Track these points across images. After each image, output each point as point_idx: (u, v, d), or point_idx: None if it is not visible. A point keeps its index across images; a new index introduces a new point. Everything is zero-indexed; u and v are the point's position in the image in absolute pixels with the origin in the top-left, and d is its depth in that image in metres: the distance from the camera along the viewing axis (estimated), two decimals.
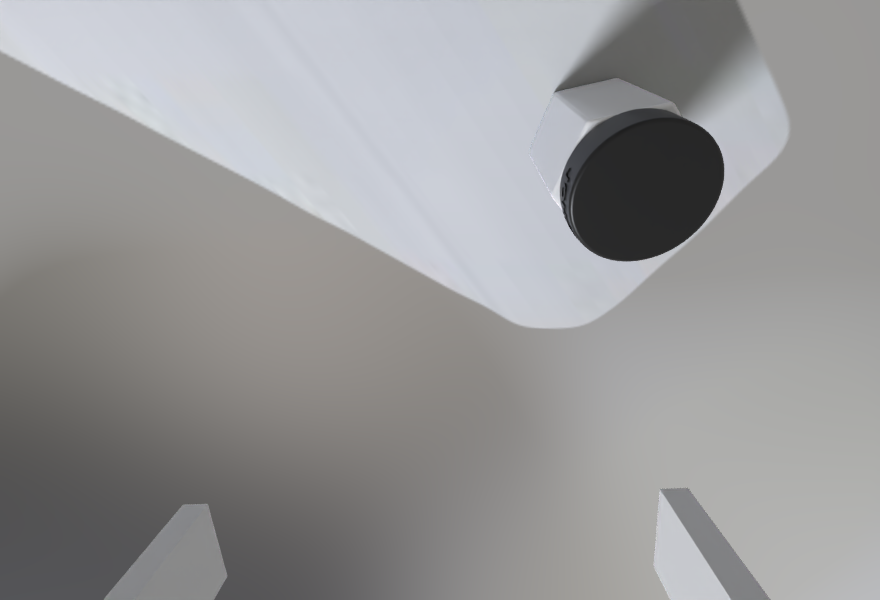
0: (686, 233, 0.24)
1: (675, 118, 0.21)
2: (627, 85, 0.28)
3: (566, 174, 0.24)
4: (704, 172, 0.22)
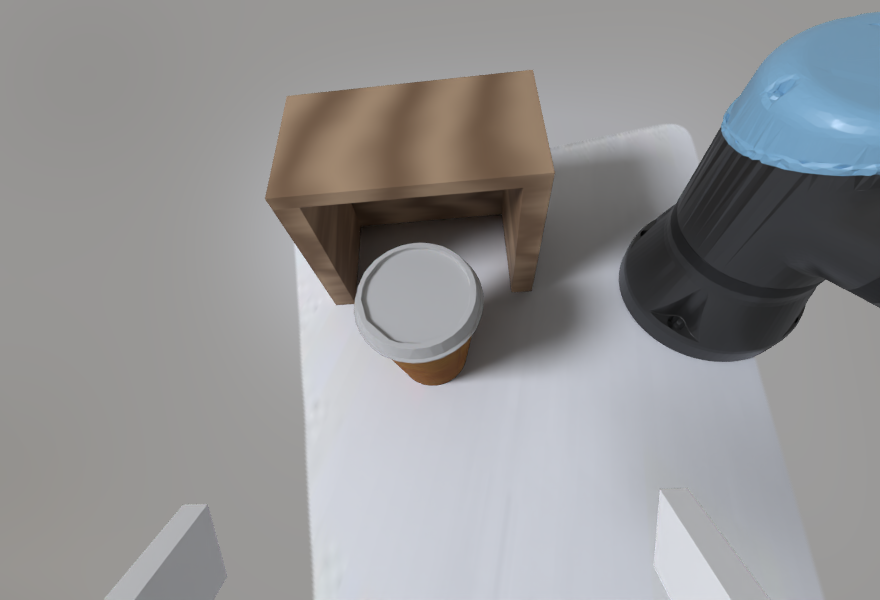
0: None
1: None
2: None
3: None
4: None
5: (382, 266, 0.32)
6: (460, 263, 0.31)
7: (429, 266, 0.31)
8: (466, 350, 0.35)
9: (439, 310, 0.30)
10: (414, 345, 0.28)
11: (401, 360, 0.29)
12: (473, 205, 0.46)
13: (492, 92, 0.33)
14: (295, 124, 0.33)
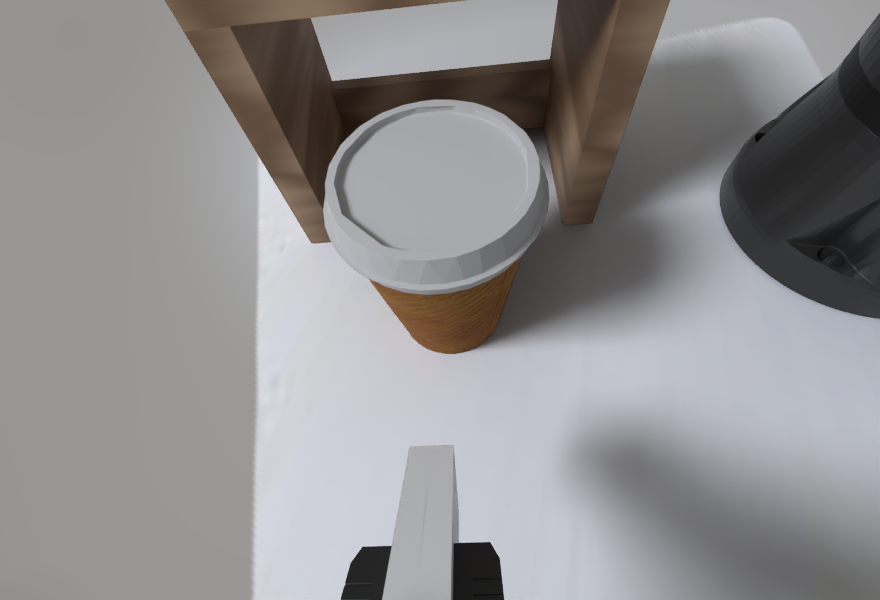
0: None
1: None
2: None
3: None
4: None
5: (373, 137, 0.19)
6: (508, 126, 0.18)
7: (453, 135, 0.18)
8: (508, 291, 0.22)
9: (473, 199, 0.16)
10: (429, 254, 0.15)
11: (404, 286, 0.16)
12: (505, 110, 0.33)
13: None
14: None
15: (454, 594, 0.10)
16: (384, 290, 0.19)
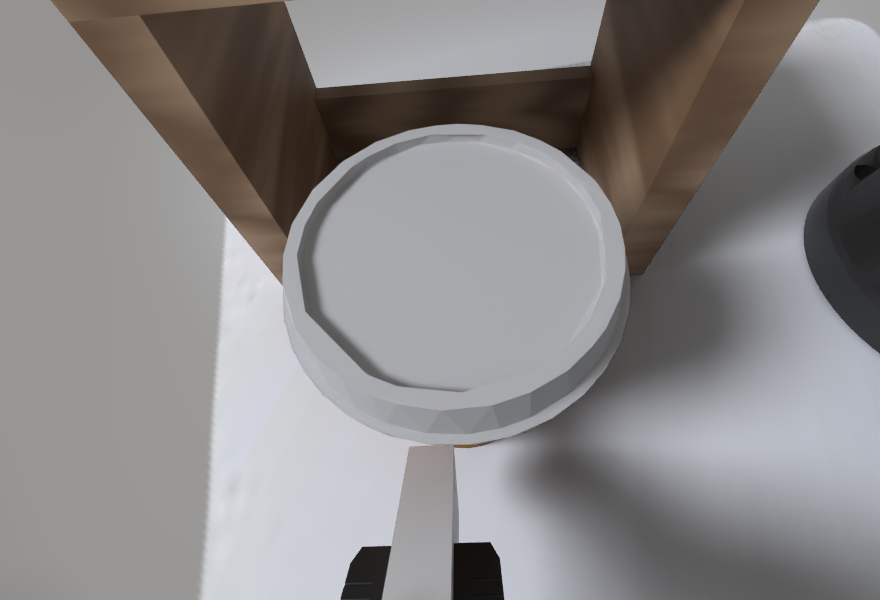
0: None
1: None
2: None
3: None
4: None
5: (362, 178, 0.12)
6: (568, 171, 0.12)
7: (484, 180, 0.12)
8: None
9: (517, 290, 0.10)
10: (445, 397, 0.09)
11: (402, 435, 0.10)
12: (531, 126, 0.27)
13: None
14: None
15: (454, 594, 0.10)
16: None
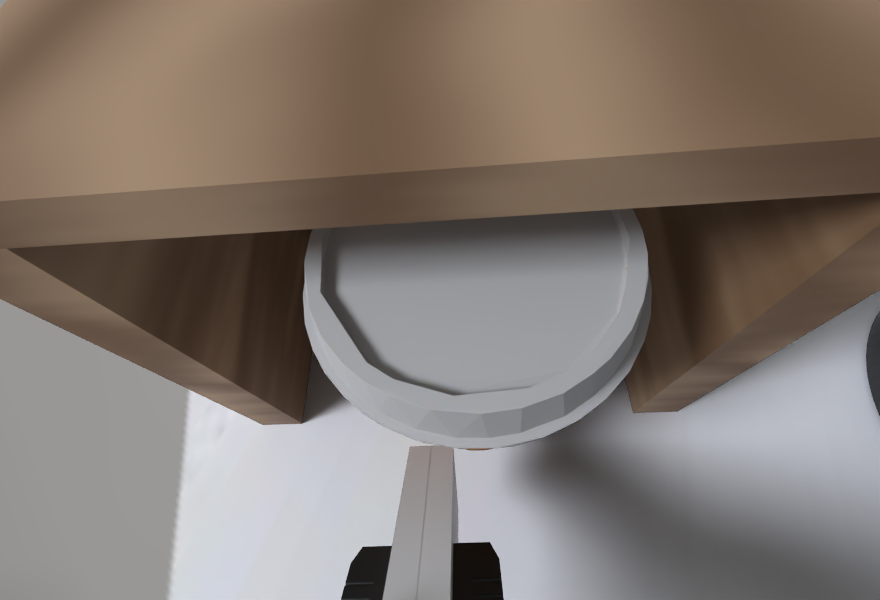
0: None
1: None
2: None
3: None
4: None
5: None
6: None
7: None
8: None
9: (529, 304, 0.10)
10: (436, 398, 0.09)
11: (392, 426, 0.10)
12: None
13: None
14: None
15: (454, 594, 0.10)
16: None
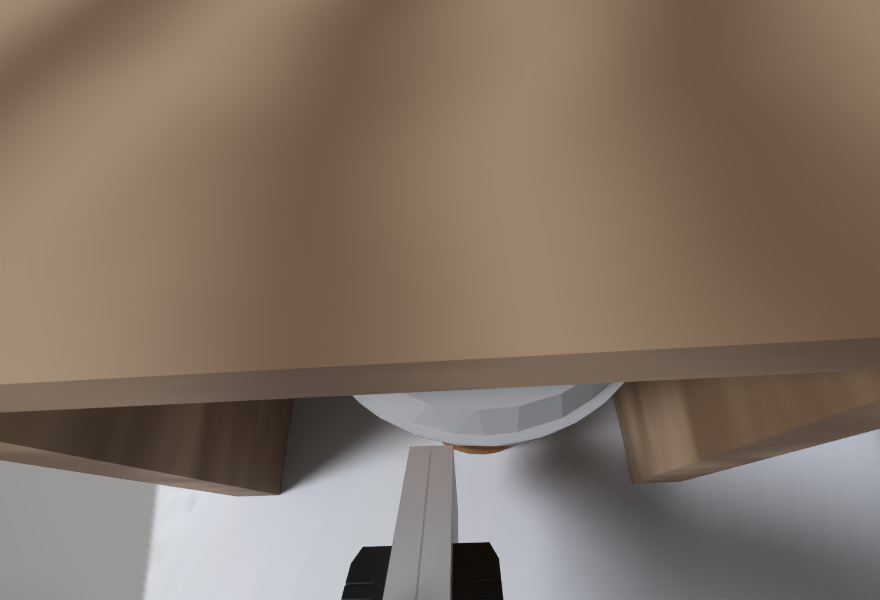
0: None
1: None
2: None
3: None
4: None
5: None
6: None
7: None
8: None
9: None
10: (435, 392, 0.09)
11: (390, 419, 0.10)
12: None
13: None
14: None
15: (453, 594, 0.10)
16: None
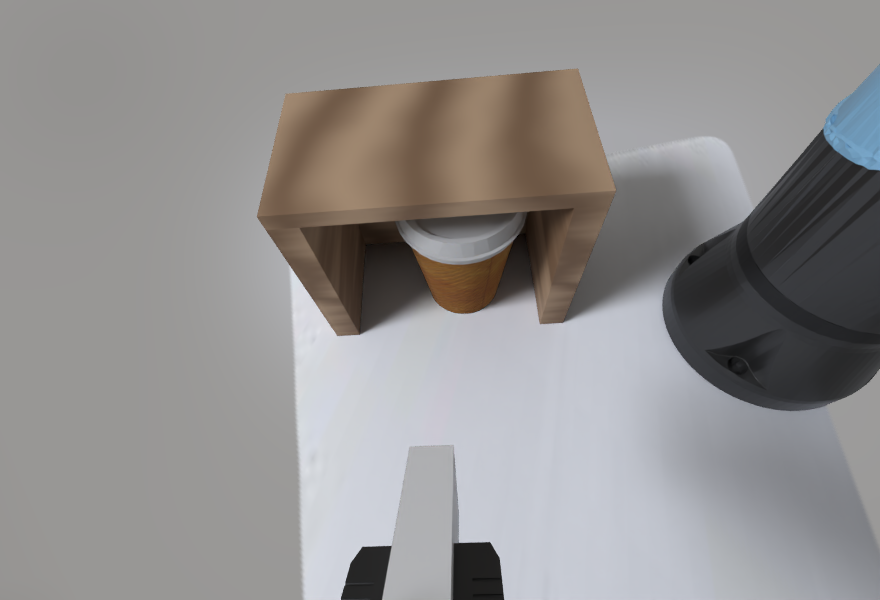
0: None
1: None
2: None
3: None
4: None
5: None
6: None
7: None
8: (497, 276, 0.34)
9: None
10: (446, 239, 0.28)
11: (430, 255, 0.29)
12: None
13: (531, 93, 0.28)
14: (295, 127, 0.28)
15: (454, 594, 0.10)
16: (419, 257, 0.31)
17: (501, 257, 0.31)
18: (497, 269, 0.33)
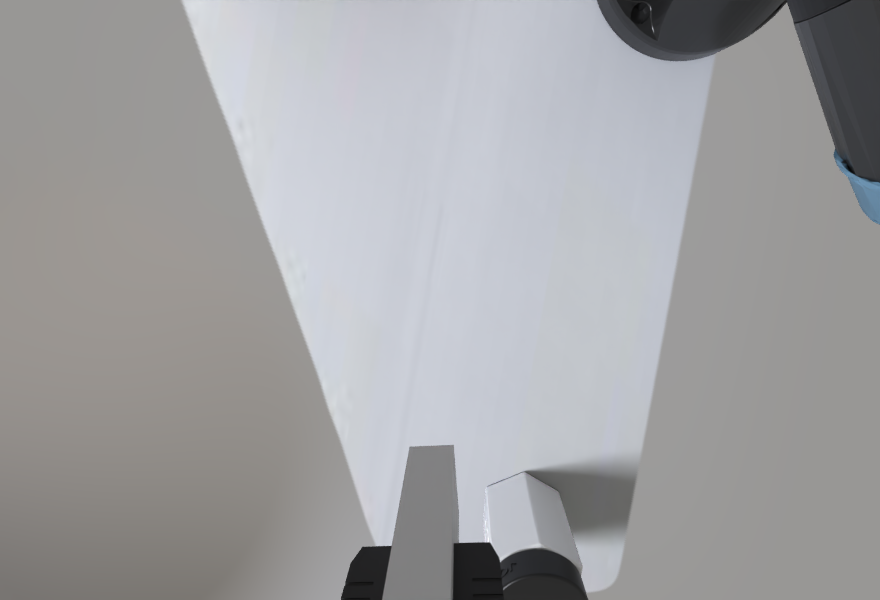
0: None
1: (581, 589, 0.34)
2: (562, 511, 0.43)
3: (511, 564, 0.36)
4: None
5: None
6: None
7: None
8: None
9: None
10: None
11: None
12: None
13: None
14: None
15: (454, 594, 0.10)
16: None
17: None
18: None
